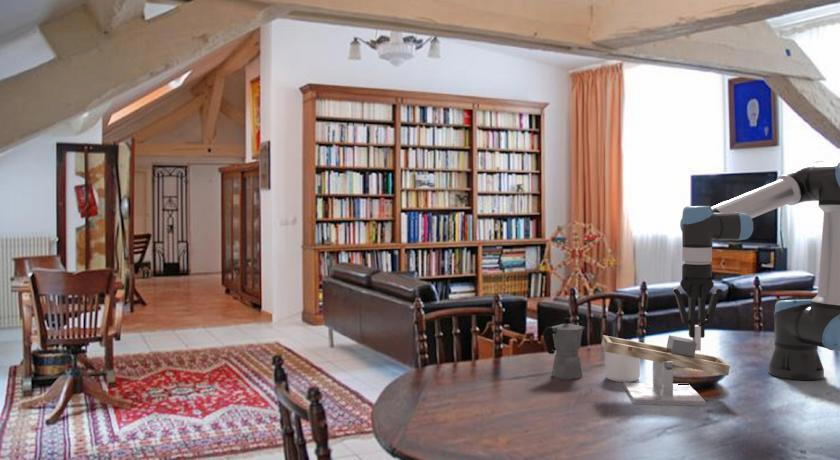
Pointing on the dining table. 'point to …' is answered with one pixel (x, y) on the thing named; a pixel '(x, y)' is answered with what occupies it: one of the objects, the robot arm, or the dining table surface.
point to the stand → (663, 389)
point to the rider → (681, 346)
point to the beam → (664, 355)
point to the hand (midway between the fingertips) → (696, 349)
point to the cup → (621, 367)
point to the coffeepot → (565, 349)
